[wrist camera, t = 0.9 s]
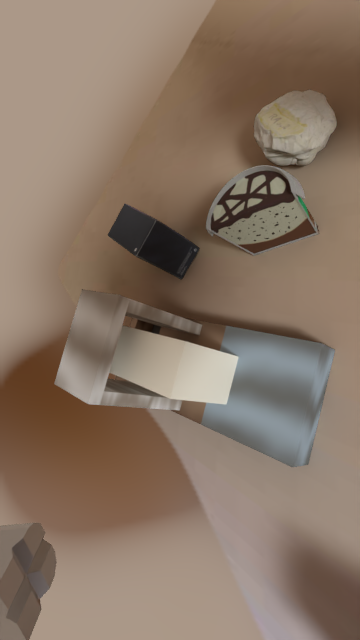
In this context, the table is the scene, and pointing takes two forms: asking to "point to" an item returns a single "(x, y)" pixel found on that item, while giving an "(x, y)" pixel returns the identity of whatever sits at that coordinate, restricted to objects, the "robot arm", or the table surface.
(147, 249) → the small box
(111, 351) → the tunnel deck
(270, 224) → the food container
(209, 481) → the table surface
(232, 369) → the cream block
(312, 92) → the fossil replica
